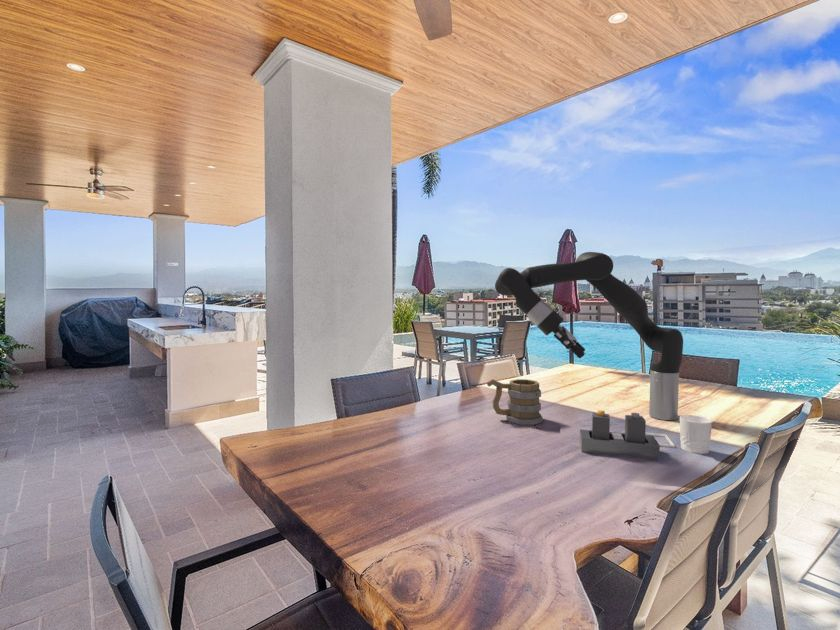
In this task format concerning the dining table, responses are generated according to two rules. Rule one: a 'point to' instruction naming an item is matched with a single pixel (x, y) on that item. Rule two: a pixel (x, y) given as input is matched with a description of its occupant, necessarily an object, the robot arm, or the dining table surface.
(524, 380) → the tankard
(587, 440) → the strip
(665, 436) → the tray
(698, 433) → the white cup
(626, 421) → the twin plug
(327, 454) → the dining table surface
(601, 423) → the plug
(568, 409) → the dining table surface
